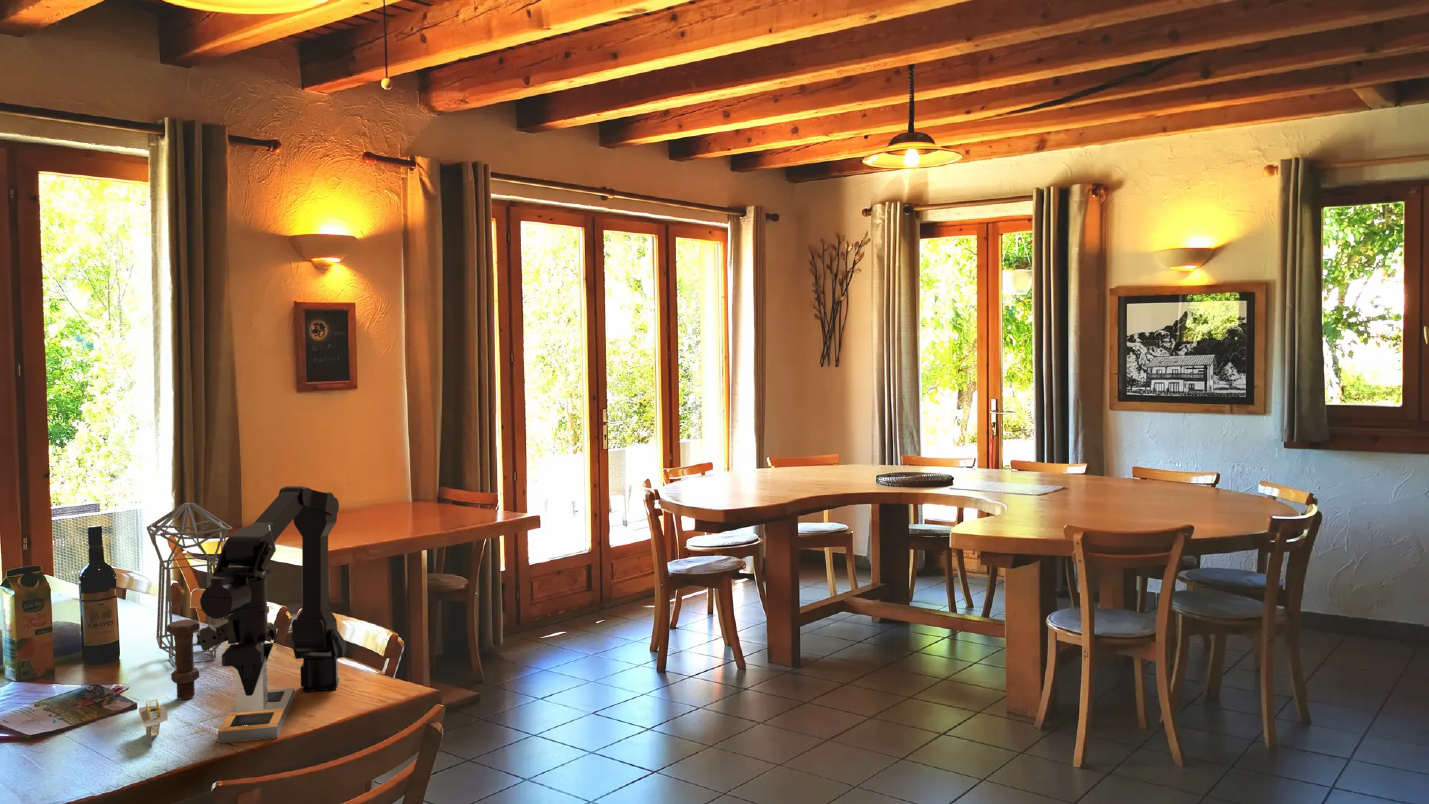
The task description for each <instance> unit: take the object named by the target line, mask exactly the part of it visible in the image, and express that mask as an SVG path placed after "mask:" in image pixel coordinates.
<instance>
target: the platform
mask: <svg viewBox="0 0 1429 804" xmlns="http://www.w3.org/2000/svg"><path fill="white" fill-rule="evenodd" d="M153 702H154V705H152V703H153ZM154 712H157V713H156V715H157V717H151V713H154ZM138 714H139V716H140V720H141V723H142V724H141V725H142V726H143V728H145V733H146V734H145V735H146V737H147V741H148V744H149V747H150V748H152V736H159V733H160V728H161V727H160V726H161V723H163V722H166V721H168V720H169V716H168V712H167V710H166V707H165V706H164V705H160V703H159V701H158V699H152V700H151V699H150V700H146V701H145V706H142V707H138Z"/></svg>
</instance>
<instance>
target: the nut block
mask: <svg viewBox="0 0 1429 804" xmlns="http://www.w3.org/2000/svg"><path fill="white" fill-rule="evenodd" d="M267 662H268V661H267ZM267 662H266V659H265V662H264V665H263V667H262V670H261V673H260V676H259V679H258V682H257V684H256V687H255V690H254V693H253V695H251V696H246V694H245V691H244V688H243V685H242V682H241V679H240V676H239V673H238V670H237V669H236V668H234V688H235V690H234V693H235V703H236V713H243V712H255V711H264V709H265V707H266V705H267V703H268V701H267V690H268V673H267V672H268V671H267V670H268V667H267Z"/></svg>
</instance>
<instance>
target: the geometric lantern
mask: <svg viewBox="0 0 1429 804" xmlns="http://www.w3.org/2000/svg"><path fill="white" fill-rule="evenodd" d="M192 510H194V511H195V512H196V513H198V514H199V515H201V516H202V517H204V518H205V519H206V520H205V521H200V522H196V520H195V517H194V514H193V511H192ZM187 513H188V515H189V520H190V523H191V525H190V526H185V524H186V519H187V518H186V517H187ZM181 514H182V516H181ZM180 516H181V519H180V523H179V525H173V523H174V522H176V520H177V519H178V518H179V517H180ZM169 523H170V524H169ZM167 524H169V525H167ZM212 524H214V525H215V526H216V527H218V528H215V529H210V530H206V529H207V528H208V527H209V526H210V525H212ZM223 524H224V525H223ZM201 525H204V526H203V527H202V528H201V529H200V530H198V531H197V528H198V526H201ZM168 529H180V531H179V532H171V531H168ZM189 529H191V530H192V529H193V530H192V531H184V530H189ZM232 529H233V527H232V526H230V525H229V524H227V523H226V522H224V521H223V520H221V519H219V518H218V517H216V516H215V515H213V514H212V513H211V512H209V511H207V510H205V509H204V508H202V506H199V505H198V504H197V503H195V502H193V503H192V502H186V503H182V504H181V505H179V506H177V507H176V508H174V509H173V510H171V511H170V512H168V513H166V514H165V515H163V516H161V517H160V518H159V519H157V520H155V521H154V522H152V523H151V524H150V525H148V526H146V530H147V533H148V536H149V538H150V541H151V543H152V545H153V547H154V549H155V552H156V555H157V558H158V560H159V568H158V569H159V571H158V589H157V590H158V593H157V595H158V596H157V597H158V598H157V614H156V615H157V616H156V617H157V618H156V619H157V620H156V622H157V623H156V642H157V644H158V645H157V646H158V648H159V649H160V650H163V651H165V652H166V653H167V654H168V658H169V660H170V661H171V662H172V664H173V665H174V666H175V667H176V659H175V658H176V656H175V655H176V654H175V650H176V649H175V645H174V635H173V634H171V633H168V632H167V626H168V625H169V624H170V623H171V622H173V606H172V604H173V603H172V582H171V581H172V576H171V570H175V569H186V568H196V567H197V568H198V567H206V585H207V586H206V588H208V587H209V586H211V579H212V578H214V576H213V574H214V571H215V568H216V565H217V563H218V560H219V558H218V552H219V550H220V547H221V545H222V542H223V541H224V542H226V540H227V533H228V531H229V530H232ZM211 533H212V534H211ZM206 534H210V535H209V536H207V537H206V538H204V539H202V540H200V539H199V536H201V535H206ZM184 535H193V536H184ZM216 535H218V539H219V541H218V542H217V545H216V546H217V547H216V550H215V551H214V554H213V555H211V556H210V555H208V554H207V551H205V549H204V547H203V546H202V544H203V543H205V542H207V541H208V540H210V539H212V538H213V537H215V536H216ZM157 536H160V537H161V538H162V539H163V538H164V539H165V540H167V541H168V542H170V543H172V544H173V545H174V547H173V548H172V550H171V552H170V554H169V557H168V559H166V560H165V559H163V557H162V554H161V551H160V549H159V546H158V544H157V539H156V538H157ZM168 536H172V537H174V538H177V541H176V540H173V539H172V538H171V537H168ZM195 539H196V540H195ZM185 540H192V541H193V542H194V544H188V545H186V542H185ZM199 540H200V541H199ZM180 541H181V542H182V544H180ZM177 547H179V549H178V550H177V552H176V553H175V551H176V549H177ZM193 547H198V549H199V550H200V552H202V553H203V556H193V557H185V558H176V557H177V556H178V555H179V553H180V552H181V550H182V549H190V548H193ZM174 553H175V554H174ZM173 555H174V556H173ZM172 557H173V558H172ZM195 559H206V564H196V565H195V564H193V565H183V566H182V565H181V566H173V567H172V566H171V567H170V565H171V564H172V563H173V562H175V561H187V560H195ZM165 563H166V564H165ZM165 576H166V577H165ZM164 601H165V602H164ZM164 603H165V605H164ZM164 607H165V608H164ZM164 609H165V610H164ZM164 612H165V613H164ZM168 616H169V617H168ZM168 618H169V623H168ZM223 620H225V617H223V618H219V619H215V618H213V621H214V622H213V624H216V623H218V622H221V621H223ZM163 624H164V625H163ZM209 625H211V617H209V616H207V627H208V626H209ZM163 626H164V627H163ZM163 628H164V634H163ZM200 630H201V629H199V630H196V631H194V632H193V634H194V633H195V634H197V633H198V632H199V631H200ZM164 638H165V640H167V643H168V644H166V643H165V641H163V639H164ZM169 638H170V640H169ZM222 644H223V643H221V644H218V645H216V646H213V647H211V649H209V650H206V651H203V650H198V651H193V652H194V653H193V655H198V654H206V653H209V654H210V655H211V659H204V660H197V661H193V662H194V665H195V664H201V663H206V662H207V663H208V662H215V660H217V649H218V648H219V647H220V646H221V645H222ZM197 646H199V645H198V644H197V642H193V647H197ZM173 658H174V659H173Z"/></svg>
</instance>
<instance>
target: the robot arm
mask: <svg viewBox="0 0 1429 804" xmlns="http://www.w3.org/2000/svg"><path fill="white" fill-rule="evenodd" d="M339 510H340V504H339V500H338V499H337V497H335V495H334V494H333V493H332V492H329V491H328V492H327V491H326V492H325V491H324V492H323V491H318V490H315V489H312V488H310V487H306V486H304V485H301V486H300V485H294V486H293V485H289V486H288V485H286V486H284V487H281V488H280V489H279V491H278V495H277V497H275V499H273V501H272V502H271V503H270V504H269V505H268V506H267V508H266V509H264V511H263V512H262V513H261V514H260V515H259V516H258V518H256V520H255V521H254V522H253V523H252V524H250V525H248V526H247V525H246V526H244V527H242V528H240V529H237V530H236V531H234V533H232V534H230V536H228V537H227V538H226V541H224V544H223V546H222V549H221V550H220V551H221V552H220V554H219V557H218V561H217V562H218V563H217V565H215V571H214V574H213V578H212V579H211V580H210V586H209V587H208V588H207V587H206V588H205V589H204V590H203V592H202V594H201V596H200V599H199V603H200V608H201V611H202V612H203V613H204V614H205V615H206V616H207V617H208V616H209V617H210V619H214V618H215V619H217V620H218V619H219V618H220V619H221V618H223V617H224V618H225V617H227V618H226V619H224V620H223V621H222V620H220V621H221V622H218V621H217V623H216V624H214V623H212V624H210V625H209V626H208V625H207V626H206V627H204V626H203V627H202V628H200V629H199V630H200V631H199V632H197V633H196V635H195V636H196V639H197V641H196V643H197V644H198V646H200V647H201V651H206V650H207V651H208V650H211V649H212V647H215V646H216V645H218V644H221V643H222V644H223V643H225V642H227V645H229V646H228V647H227V648H226V649H225V650H224V652H223V653H221V666H222V667H226V668H227V667H233V668H234V669H235V668H236V669H237V670H238V673H239V676H240V679H241V682H242V685H243V688H244V691H245V694H246V696H251V695H253V693H254V690H255V687H256V684H257V682H258V679H259V676H260V673H261V670H262V667H263V665H264V662H265V659H266V662H268V660H269V657H270V654H271V652H272V650H273V647H274V642H273V643H272V642H270V643H267V642H266V641H267V639H268V638H270V640H271V641H275V640H276V639H277V637H278V632H277V626H276V625H275V624H274V623H272V622H268V614H269V612H270V606H269V605H268V599H267V598H268V596H267V595H268V594H267V593H268V592H267V590H268V589H267V587H268V586H267V576H269V575H271V574H272V570H271V569H270V567H268V565H269V563H270V561H271V560H272V558H273V556H274V554H275V553H276V550H277V548H276V541H277V539H278V538H279V537H280V535H281V534H282V533H284V531H285V530H286V528H287V527H288V526H290V524H291V522H292V521H293V525H294V526H295V529H296V530H297V531H298V533H299V535H300V536H301V541H302V544H301V547H302V548H301V549H302V550H301V552H302V553H301V554H302V555H301V556H302V557H301V559H302V561H301V564H302V565H301V567H302V568H301V569H302V571H301V575H302V577H301V579H302V580H301V581H302V582H301V583H302V584H301V585H302V586H301V588H302V590H301V591H302V592H301V594H302V595H301V600H302V601H301V611H300V612H299V614H298V615H297V617H296V619H295V618H294V619H293V620H292V622H291V639H290V641H291V642H290V643H291V645H292V650H293V655H294V659H296V660H299V659H301V660H302V659H303V660H302V661H303V662H302V663H301V666H300V687H301V690H302V691H308V692H316V691H315V690H320V691H330V690H329V689H333V690H336V688H337V689H338V686H339V684H340V683H339V682H340V677H339V664H338V663H339V662H338V659H341V658H344V657H345V654H346V651H347V642H346V641H345V639H344V638H343V636H342V635H341V633H340V632H339V630H338V622H337V621H338V620H337V618H336V617H335V615H334V614H333V612H332V610H331V609H330V607H329V535H330V533H331V532H332V530H333V529H334V527H335V525H336V524H337V520H338V519H337V518H338V513H339ZM222 644H221V645H222ZM313 690H314V691H313Z"/></svg>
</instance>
